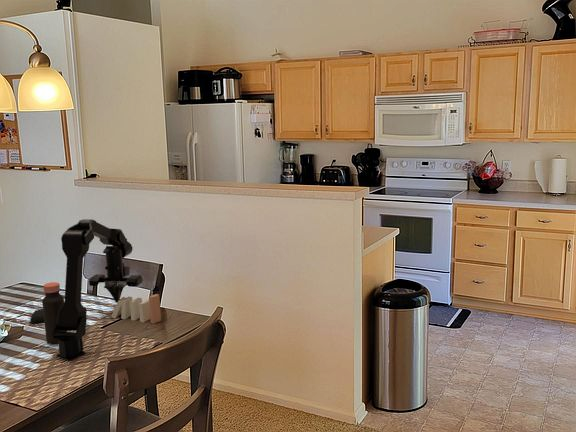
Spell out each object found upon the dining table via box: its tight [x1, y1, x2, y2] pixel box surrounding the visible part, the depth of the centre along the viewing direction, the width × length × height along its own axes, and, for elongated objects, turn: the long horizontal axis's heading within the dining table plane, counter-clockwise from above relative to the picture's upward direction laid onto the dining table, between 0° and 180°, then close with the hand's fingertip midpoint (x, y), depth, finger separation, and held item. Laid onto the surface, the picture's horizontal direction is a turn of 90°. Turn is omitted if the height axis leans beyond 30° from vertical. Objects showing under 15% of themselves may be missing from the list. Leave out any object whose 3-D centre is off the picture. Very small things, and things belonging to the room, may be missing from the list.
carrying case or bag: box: [29, 308, 45, 325], centre depth 213 cm, size 11×3×15 cm
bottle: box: [41, 281, 68, 345], centre depth 190 cm, size 7×7×20 cm
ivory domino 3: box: [130, 297, 143, 321], centre depth 211 cm, size 2×5×7 cm, turn 158°
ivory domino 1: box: [111, 296, 126, 319], centre depth 213 cm, size 2×5×7 cm, turn 173°
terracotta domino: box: [148, 293, 162, 324], centre depth 206 cm, size 2×4×10 cm, turn 144°
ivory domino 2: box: [120, 296, 133, 320], centre depth 212 cm, size 2×5×7 cm, turn 166°
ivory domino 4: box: [139, 298, 150, 323], centre depth 209 cm, size 2×5×7 cm, turn 150°
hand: (117, 302), depth 213 cm, fingers closed
